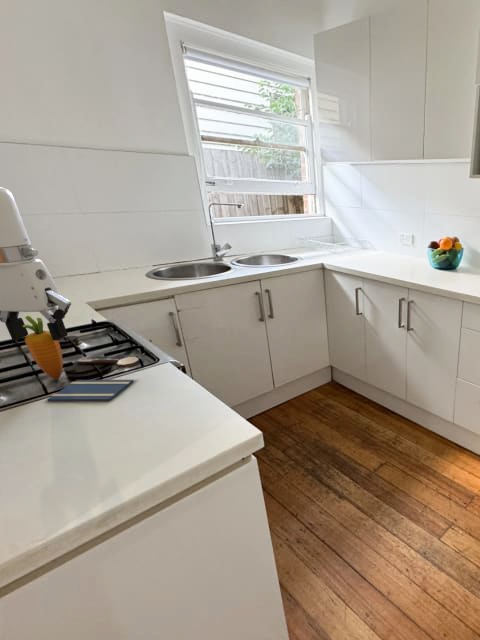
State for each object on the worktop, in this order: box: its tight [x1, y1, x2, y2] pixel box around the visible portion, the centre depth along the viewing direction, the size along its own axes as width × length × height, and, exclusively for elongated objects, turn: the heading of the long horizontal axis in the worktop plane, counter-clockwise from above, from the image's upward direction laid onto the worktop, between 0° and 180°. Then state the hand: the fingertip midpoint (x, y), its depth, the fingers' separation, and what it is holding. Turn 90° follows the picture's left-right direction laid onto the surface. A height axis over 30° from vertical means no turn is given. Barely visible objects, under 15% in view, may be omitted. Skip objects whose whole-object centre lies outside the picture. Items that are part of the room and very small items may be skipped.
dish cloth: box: [46, 379, 134, 402], centre depth 81 cm, size 12×8×1 cm, turn 93°
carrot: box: [23, 315, 64, 381], centre depth 82 cm, size 5×5×15 cm
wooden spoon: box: [77, 356, 140, 369], centre depth 93 cm, size 14×4×1 cm, turn 93°
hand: (40, 337), depth 81 cm, fingers open, 7 cm apart
